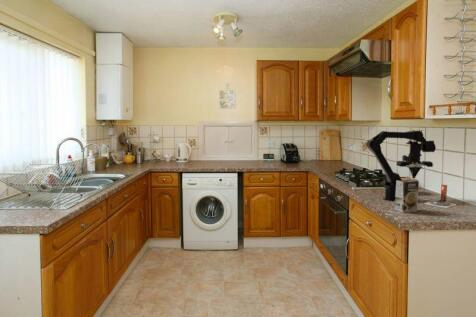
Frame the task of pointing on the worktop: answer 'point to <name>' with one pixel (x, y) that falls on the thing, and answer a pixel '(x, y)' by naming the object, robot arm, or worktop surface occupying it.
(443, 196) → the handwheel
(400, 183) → the coffee box
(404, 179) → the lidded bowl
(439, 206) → the wheel base
